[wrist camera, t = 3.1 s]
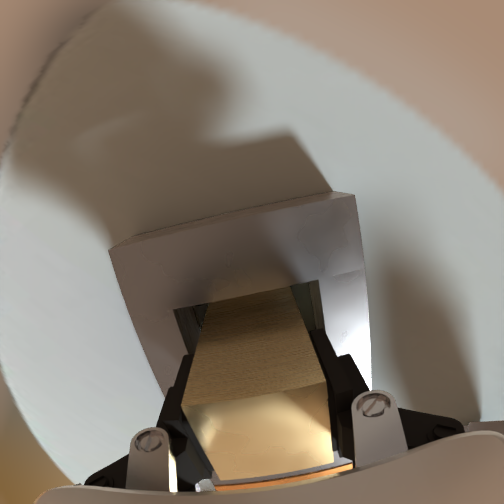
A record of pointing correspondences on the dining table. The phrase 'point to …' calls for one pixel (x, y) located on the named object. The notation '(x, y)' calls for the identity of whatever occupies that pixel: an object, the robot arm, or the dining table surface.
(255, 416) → the wooden block
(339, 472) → the robot arm
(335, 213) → the grey flat rectangular block
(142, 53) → the dining table surface
